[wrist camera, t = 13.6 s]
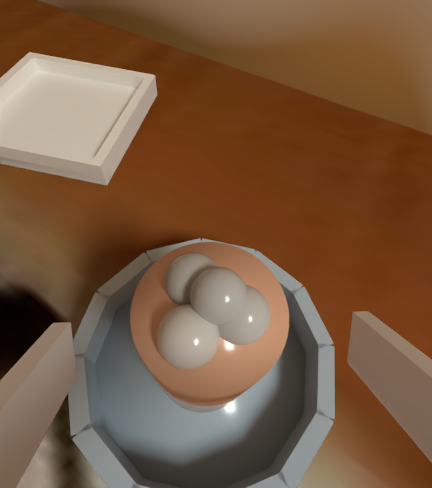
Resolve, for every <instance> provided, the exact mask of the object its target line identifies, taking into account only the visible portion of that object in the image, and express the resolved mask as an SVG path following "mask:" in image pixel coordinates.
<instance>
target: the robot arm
mask: <svg viewBox="0 0 432 488" xmlns="http://www.w3.org/2000/svg"><path fill="white" fill-rule="evenodd" d="M347 363H348V364H349V365H350V366H351V368H352V369H353V370H354V371H355V372H356V374H357V375H358V376H359V377H360V378H361V379H362V381H363V382H364V383H365V384H366V385H367V387H368V388H369V389H370V390H371V391H372V392H373V394H374V395H375V396H376V397H377V398H378V400H379V401H380V402H381V403H382V404H383V406H384V407H385V408H386V409H387V410H388V411H389V413H390V414H391V415H392V416H393V417H394V419H395V420H396V421H397V422H398V423H399V424H400V426H401V427H402V428H403V429H404V430H405V432H406V433H407V434H408V435H409V436H410V437H411V439H412V440H413V441H414V442H415V443H416V445H417V446H418V447H419V448H420V449H421V450H422V452H423V453H424V454H425V455H426V456H427V458H428V459H429V460H430V461H431V462H432V360H431V359H430V358H429V357H427V356H426V355H425V354H423V353H422V352H421V351H420V350H418V349H417V348H416V347H414V346H413V345H412V344H410V343H409V342H408V341H406V340H405V339H404V338H402V337H401V336H400V335H399V334H397V333H396V332H395V331H393V330H392V329H391V328H389V327H388V326H387V325H385V324H384V323H383V322H381V321H380V320H379V319H377V318H376V317H375V316H374V315H372V314H371V313H370V312H368V311H362V312H353V316H352V324H351V333H350V342H349V350H348V359H347ZM76 377H77V373H76V364H75V355H74V346H73V337H72V328H71V322H65V323H52V324H51V325H50V327H49V328H48V329H47V330H46V331H45V332H44V333H43V334H42V335H41V336H40V338H39V339H38V340H37V341H36V342H35V343H34V344H33V345H32V346H31V347H30V349H29V350H28V351H27V352H26V353H25V354H24V355H23V356H22V357H21V358H20V360H19V361H18V362H17V363H16V364H15V365H14V366H13V367H12V368H11V369H10V370H9V372H8V373H7V374H6V375H5V376H4V377H3V378H2V379H1V380H0V488H16V486H17V485H18V483H19V481H20V479H21V477H22V476H23V474H24V472H25V470H26V468H27V466H28V465H29V463H30V461H31V459H32V457H33V456H34V454H35V452H36V450H37V448H38V446H39V445H40V443H41V441H42V439H43V437H44V436H45V434H46V432H47V430H48V428H49V426H50V425H51V423H52V421H53V419H54V417H55V416H56V414H57V412H58V410H59V408H60V406H61V405H62V403H63V401H64V399H65V397H66V396H67V394H68V392H69V390H70V388H71V386H72V385H73V383H74V381H75V379H76Z"/></svg>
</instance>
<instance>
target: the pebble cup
mask: <svg viewBox="0 0 432 488" xmlns="http://www.w3.org/2000/svg"><path fill="white" fill-rule="evenodd" d="M130 325H131V333H132V337H133V341H134V344H135V346H136V348H137V351H138V353H139V355H140V356H141V358H142V360H143V361H144V363H145V364H146V366H147V367H148V369H149V370H150V372H151V373H152V375H153V376H154V377H155V379H156V380H157V382H158V383H159V385H160V386H161V388H162V389H163V390H164V392H165V393H166V394H167V396H168V397H169V398H170V399H171V400H172V401H173V402H174V403H176V404H177V405H178V406H180V407H182V408H184V409H186V410H189V411H192V412H198V413H206V412H213V411H216V410H219V409H221V408H223V407H225V406H227V405H228V404H230V403H231V402H232V401H234V400H235V399H236V398H237V397H239V396H240V395H241V394H243V393H244V392H245V391H246V390H248V389H249V388H250V387H252V386H253V385H254V384H255V383H257V382H258V381H259V380H260V379H262V378H263V377H264V376H265V375H266V374H267V373H268V372H269V371H270V370H271V369H272V367H273V366H274V365H275V364H276V362H277V360H278V359H279V357H280V356H281V353H282V351H283V349H284V347H285V344H286V340H287V337H288V330H289V310H288V304H287V300H286V297H285V294H284V291H283V289H282V287H281V285H280V283H279V281H278V280H277V278H276V277H275V275H274V274H273V273H272V271H271V270H270V269H269V268H268V267H267V266H266V265H265V264H264V263H263V262H262V261H261V260H259V259H258V258H257V257H255V256H254V255H252V254H251V253H249V252H247V251H245V250H243V249H241V248H238V247H236V246H232V245H229V244H225V243H218V242H199V243H193V244H189V245H185V246H182V247H179V248H177V249H175V250H172V251H171V252H169V253H167V254H165V255H164V256H163V257H161V258H160V259H159V260H157V261H156V262H155V263H154V264H153V265H152V266H151V267H150V268H149V269H148V270H147V272H146V273H145V274H144V276H143V277H142V279H141V280H140V282H139V284H138V286H137V288H136V290H135V293H134V296H133V300H132V305H131V311H130Z"/></svg>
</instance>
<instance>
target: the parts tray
mask: <svg viewBox="0 0 432 488" xmlns="http://www.w3.org/2000/svg"><path fill="white" fill-rule="evenodd" d="M156 96H157V89H156V80H155V75H151V74H146V73H140V72H135V71H129V70H124V69H118V68H113V67H107V66H102V65H97V64H91V63H86V62H80V61H75V60H69V59H64V58H58V57H53V56H47V55H42V54H36V53H31V52H29V53H28V54H27V55H26V56H25V57H23V58H22V59H21V60H20V61H19V62H18V63H17V64H16V65H15V66H13V67H12V68H11V69H10V70H9V71H8V72H7V73H6V74H5V75H3V76H2V77H1V78H0V164H5V165H10V166H15V167H20V168H25V169H30V170H34V171H39V172H44V173H49V174H54V175H59V176H64V177H68V178H73V179H78V180H83V181H88V182H93V183H98V184H102V185H108V183H109V181H110V179H111V178H112V176H113V174H114V172H115V170H116V168H117V167H118V165H119V163H120V161H121V159H122V158H123V156H124V154H125V152H126V150H127V149H128V147H129V145H130V143H131V141H132V140H133V138H134V136H135V134H136V132H137V130H138V129H139V127H140V125H141V123H142V121H143V120H144V118H145V116H146V114H147V112H148V111H149V109H150V107H151V105H152V103H153V102H154V100H155V98H156Z"/></svg>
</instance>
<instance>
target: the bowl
mask: <svg viewBox="0 0 432 488" xmlns="http://www.w3.org/2000/svg"><path fill="white" fill-rule="evenodd" d="M199 242H217V241H213V240H208V239H203V238H202V241H201V240H200V238H199V239H195V240H191V241H187V242H182V243H178V244H174V245H170V246H165V247H161V248H157V249H153V250H148V251H146V252H147V254H145V253H144V252H143V253H142V254H141V255H140V256H138V257H137V258H136V259H135V260H134V261H132V262H131V263H130V264H129V265H127V266H126V267H125V268H124V269H122V270H121V271H120V272H119V273H117V274H116V275H115V276H114V277H112V278H111V279H110V280H109V281H107V282H106V283H105V284H104V285H102V286H101V287H100V288H99V289H98V290H97V291H98V292H99V293H96V292H95V294H94V296H93V298H92V300H91V302H90V304H89V307H88V309H87V311H86V313H85V315H84V317H83V320H82V322H81V324H80V326H79V328H78V330H77V333H76V335H75V337H74V339H73V346H74V355H75V364H76V373H77V377H76V379H75V381H74V383H73V385H72V386H71V388H70V390H69V392H68V400H69V414H70V429H71V436H75V437H74V438H73V439H72V440H73V441H74V443H75V444H76V445H77V447H78V448H79V449H80V451H81V452H82V453H83V455H84V456H85V457H86V459H87V460H88V461H89V463H90V464H91V465H92V467H93V468H94V469H95V471H96V472H97V473H98V475H99V476H100V477H101V479H102V480H103V481H104V483H105V484H106V485H107V487H108V488H297V486H298V484H299V482H300V481H301V479H302V477H303V475H304V474H305V472H306V470H307V468H308V467H309V465H310V463H311V461H312V460H313V458H314V456H315V454H316V453H317V451H318V449H319V447H320V446H321V444H322V442H323V440H324V439H325V437H326V435H327V433H328V432H329V430H330V428H331V426H332V425H333V423H334V422H333V421H332V420H331V419H335V385H334V346H330V345H332V344H334V343H333V341H332V339H331V338H330V336H329V334H328V332H327V330H326V328H325V326H324V324H323V322H322V320H321V318H320V316H319V314H318V312H317V310H316V308H315V306H314V304H313V303H312V301H311V299H310V297H309V295H308V293H307V291H306V289H305V287H303V288H301V287H302V284H301V283H300V282H298V281H297V280H296V279H294V278H293V277H292V276H290V275H289V274H288V273H286V272H285V271H284V270H282V269H281V268H280V267H278V266H277V265H276V264H275V263H273V262H272V261H271V260H269V259H268V258H267V257H265V256H264V255H263V254H261V253H260V252H259V251H256V252H255V249H250V248H246V247H241V246H236V245H232V244H229V245H232V246H236V247H238V248H241V249H243V250H245V251H247V252H249V253H251V254H252V255H254V256H255V257H257V258H258V259H259V260H261V261H262V262H263V263H264V264H265V265H266V266H267V267H268V268H269V269H270V270H271V271H272V273H273V274H274V275H275V277H276V278H277V280H278V281H279V283H280V285H281V287H282V289H283V291H284V294H285V297H286V300H287V304H288V310H289V330H288V337H287V340H286V344H285V347H284V349H283V351H282V353H281V356H280V357H279V359H278V360H277V362H276V364H275V365H274V366H273V367H272V369H271V370H270V371H269V372H268V373H267V374H266V375H265V376H264V377H263V378H262V379H260V380H259V381H258V382H257V383H255V384H254V385H253V386H252V387H250V388H249V389H248V390H246V391H245V392H244V393H243V394H241V395H240V396H239V397H237V398H236V399H235V400H234V401H232V402H231V403H230V404H228V405H227V406H225V407H223V408H221V409H219V410H216V411H213V412H206V413H198V412H192V411H189V410H186V409H184V408H182V407H180V406H178V405H177V404H176V403H174V402H173V401H172V400H171V399H170V398H169V397H168V396H167V394H166V393H165V392H164V390H163V389H162V388H161V386H160V385H159V383H158V382H157V380H156V379H155V377H154V376H153V375H152V373H151V372H150V370H149V369H148V367H147V366H146V364H145V363H144V361H143V360H142V358H141V356H140V355H139V353H138V351H137V348H136V346H135V344H134V341H133V337H132V333H131V325H130V311H131V305H132V300H133V296H134V293H135V290H136V288H137V286H138V284H139V282H140V280H141V279H142V277H143V276H144V274H145V273H146V272H147V270H148V269H149V268H150V267H151V266H152V265H153V264H154V263H155V262H156V261H157V260H159V259H160V258H161V257H163V256H164V255H165V254H167V253H169V252H171V251H172V250H175V249H177V248H179V247H182V246H185V245H189V244H193V243H199ZM218 243H222V242H218ZM225 244H227V243H225Z"/></svg>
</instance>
